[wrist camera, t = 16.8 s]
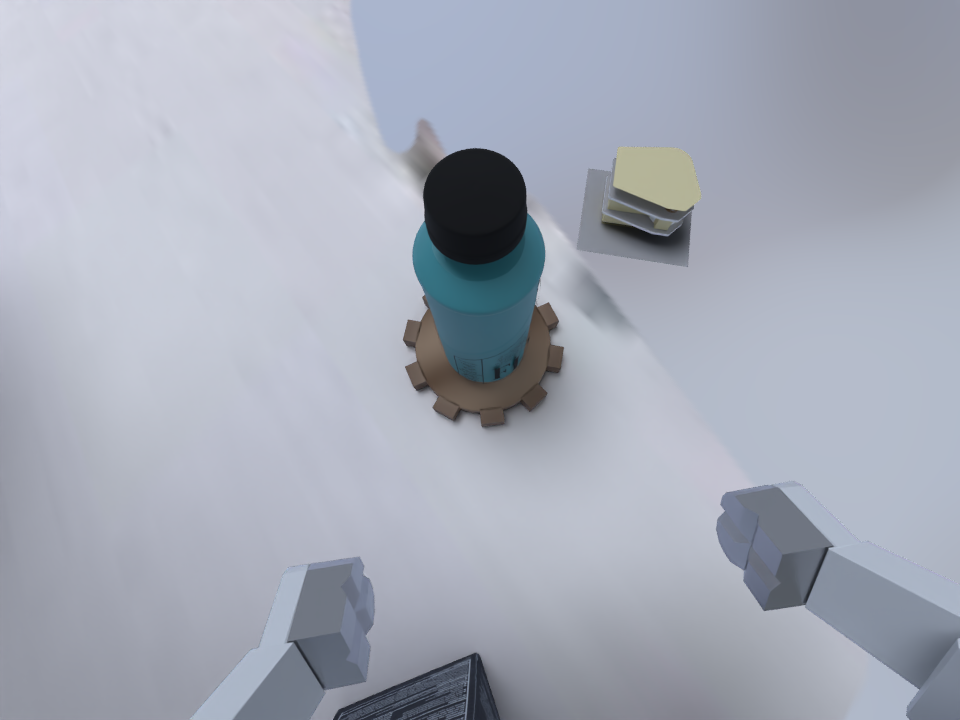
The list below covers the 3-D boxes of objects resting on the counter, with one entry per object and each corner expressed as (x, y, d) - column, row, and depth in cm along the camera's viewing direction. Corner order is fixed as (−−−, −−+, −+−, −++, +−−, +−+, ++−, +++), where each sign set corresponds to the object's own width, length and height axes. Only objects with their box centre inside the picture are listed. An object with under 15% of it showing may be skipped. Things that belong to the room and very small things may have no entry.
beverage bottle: (493, 406, 34) (498, 304, 14) (427, 358, 35) (348, 205, 16) (541, 341, 35) (602, 169, 16) (475, 297, 36) (457, 88, 17)
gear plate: (376, 345, 37) (371, 340, 35) (486, 252, 39) (486, 243, 38) (479, 459, 34) (478, 458, 33) (592, 352, 36) (596, 346, 35)
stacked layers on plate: (576, 250, 39) (589, 214, 34) (588, 168, 42) (602, 122, 36) (687, 267, 38) (719, 233, 33) (693, 183, 41) (723, 139, 36)
